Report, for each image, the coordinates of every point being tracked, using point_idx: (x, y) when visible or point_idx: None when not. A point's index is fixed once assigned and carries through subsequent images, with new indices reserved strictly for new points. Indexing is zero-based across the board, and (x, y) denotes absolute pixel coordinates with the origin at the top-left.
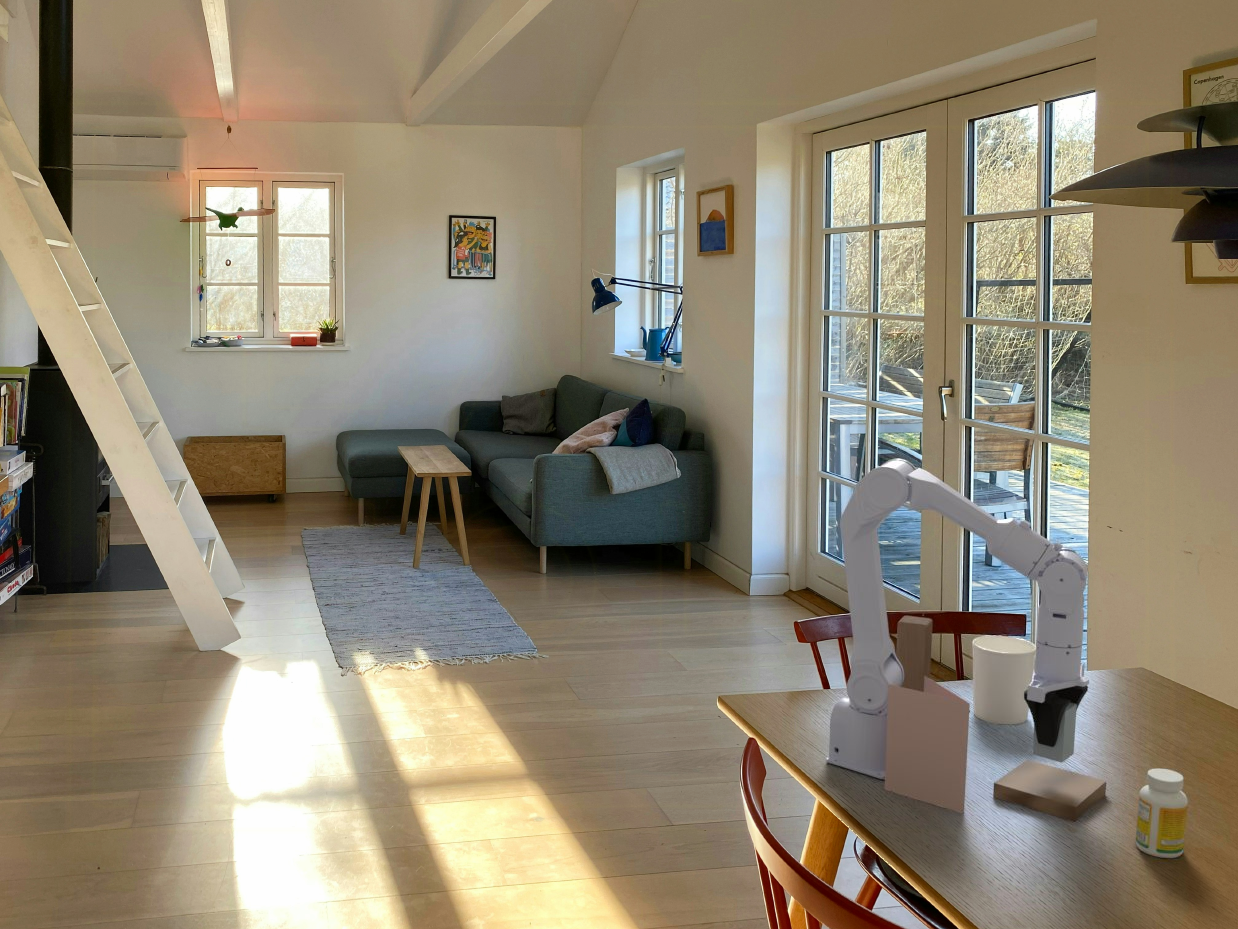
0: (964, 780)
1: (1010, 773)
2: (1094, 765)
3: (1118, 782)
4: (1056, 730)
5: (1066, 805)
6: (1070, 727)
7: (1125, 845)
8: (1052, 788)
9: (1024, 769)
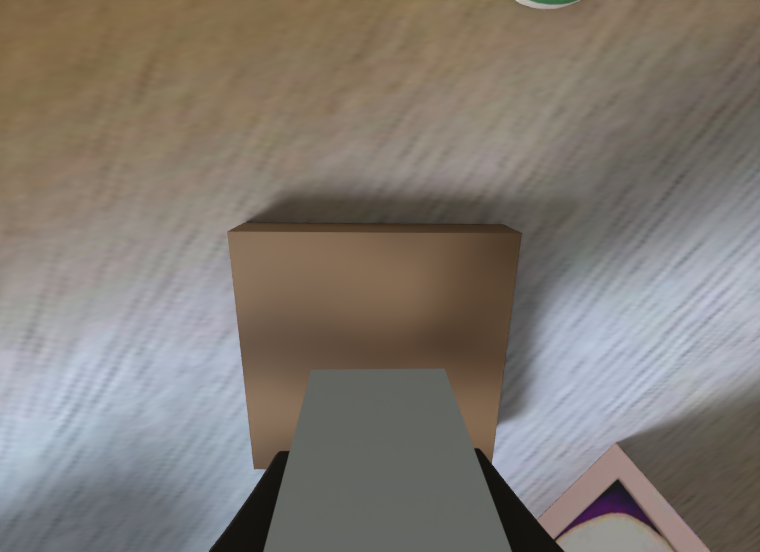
0: (685, 524)
1: None
2: (42, 328)
3: (107, 226)
4: (541, 526)
5: (516, 262)
6: (372, 489)
7: (582, 37)
8: (421, 340)
9: None
